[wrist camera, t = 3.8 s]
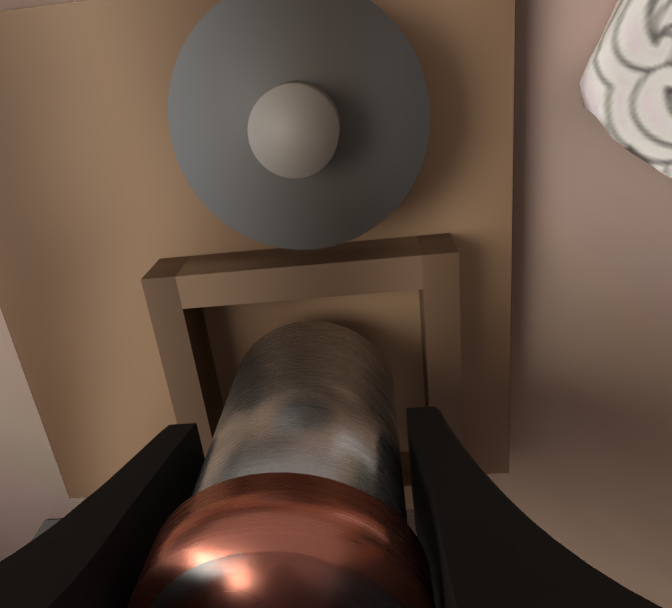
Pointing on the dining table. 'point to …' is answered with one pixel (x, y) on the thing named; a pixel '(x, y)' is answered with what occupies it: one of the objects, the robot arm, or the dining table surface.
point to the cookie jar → (635, 80)
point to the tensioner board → (149, 207)
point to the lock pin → (296, 489)
